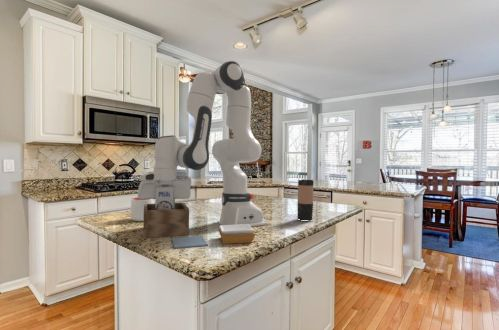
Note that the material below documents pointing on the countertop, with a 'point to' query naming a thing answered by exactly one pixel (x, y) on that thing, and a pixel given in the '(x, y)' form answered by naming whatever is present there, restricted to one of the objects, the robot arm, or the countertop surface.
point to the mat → (189, 242)
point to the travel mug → (305, 199)
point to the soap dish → (236, 233)
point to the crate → (165, 221)
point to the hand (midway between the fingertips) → (164, 210)
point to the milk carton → (164, 197)
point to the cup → (139, 208)
